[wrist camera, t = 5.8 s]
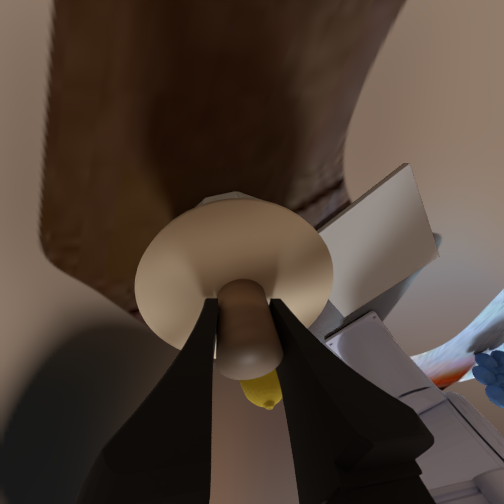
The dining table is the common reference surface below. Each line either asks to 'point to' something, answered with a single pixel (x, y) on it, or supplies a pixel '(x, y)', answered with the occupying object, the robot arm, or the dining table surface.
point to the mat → (378, 241)
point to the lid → (234, 279)
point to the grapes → (491, 375)
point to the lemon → (263, 390)
